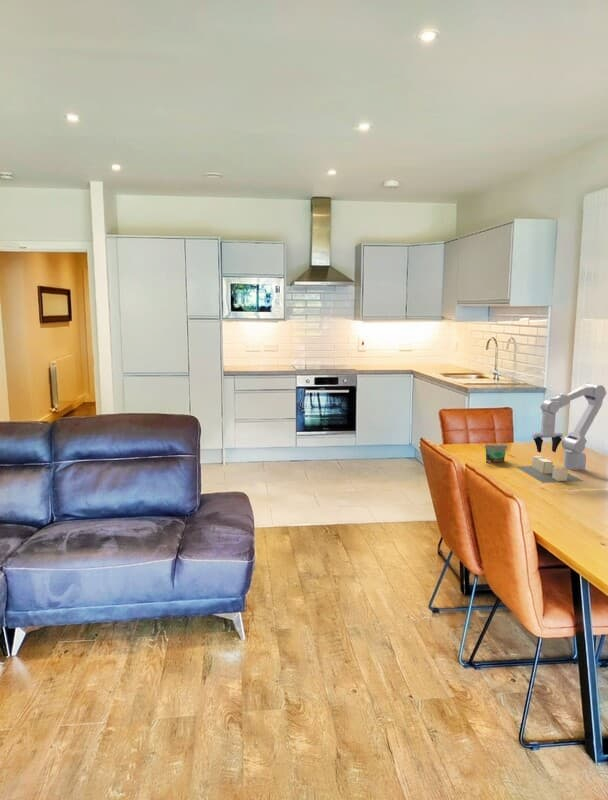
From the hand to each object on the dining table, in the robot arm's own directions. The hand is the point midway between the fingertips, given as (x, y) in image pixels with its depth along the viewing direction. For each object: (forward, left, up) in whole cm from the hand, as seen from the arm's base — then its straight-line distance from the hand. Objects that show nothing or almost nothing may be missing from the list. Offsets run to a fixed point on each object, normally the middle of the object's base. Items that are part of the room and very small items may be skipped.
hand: (546, 451), depth 270 cm
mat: (+2, +6, -10) cm, 12 cm away
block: (+2, +16, -9) cm, 18 cm away
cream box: (+2, 0, -9) cm, 9 cm away
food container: (+17, -16, -10) cm, 25 cm away
